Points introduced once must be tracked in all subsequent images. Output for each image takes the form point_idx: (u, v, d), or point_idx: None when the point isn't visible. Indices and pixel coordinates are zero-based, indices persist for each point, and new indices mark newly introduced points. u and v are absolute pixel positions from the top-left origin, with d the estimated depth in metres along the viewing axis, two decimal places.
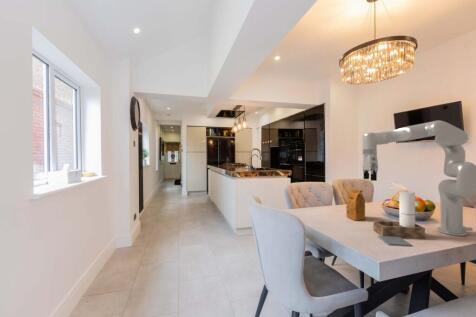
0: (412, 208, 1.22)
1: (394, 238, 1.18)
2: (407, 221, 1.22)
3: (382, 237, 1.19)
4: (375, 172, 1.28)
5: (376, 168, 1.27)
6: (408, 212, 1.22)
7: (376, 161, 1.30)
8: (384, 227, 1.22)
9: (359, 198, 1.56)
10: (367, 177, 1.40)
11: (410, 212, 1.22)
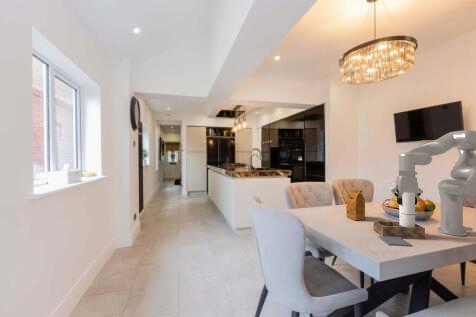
0: (412, 208, 1.22)
1: (394, 238, 1.18)
2: (407, 221, 1.22)
3: (382, 237, 1.19)
4: None
5: None
6: (408, 212, 1.22)
7: None
8: (384, 227, 1.22)
9: (359, 198, 1.55)
10: None
11: (410, 212, 1.22)
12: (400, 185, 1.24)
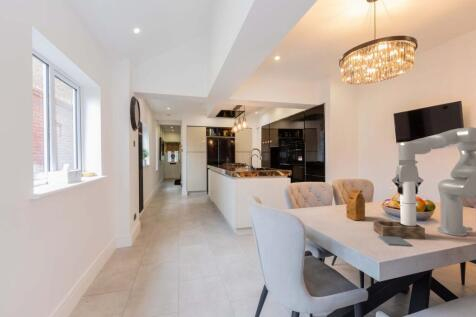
0: (413, 197, 1.22)
1: (394, 238, 1.18)
2: (408, 210, 1.23)
3: (382, 237, 1.19)
4: None
5: (422, 181, 1.24)
6: (409, 201, 1.22)
7: None
8: (384, 227, 1.22)
9: (359, 198, 1.55)
10: None
11: (411, 201, 1.22)
12: (400, 174, 1.24)
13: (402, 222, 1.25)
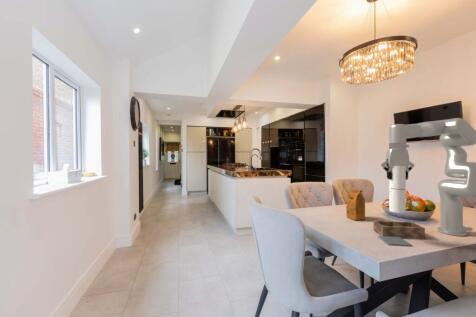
0: (402, 182, 1.15)
1: (394, 238, 1.18)
2: (397, 196, 1.15)
3: (382, 237, 1.19)
4: None
5: (413, 166, 1.17)
6: (398, 186, 1.15)
7: None
8: (384, 227, 1.22)
9: (359, 198, 1.56)
10: None
11: (400, 186, 1.15)
12: (390, 158, 1.17)
13: (390, 209, 1.18)
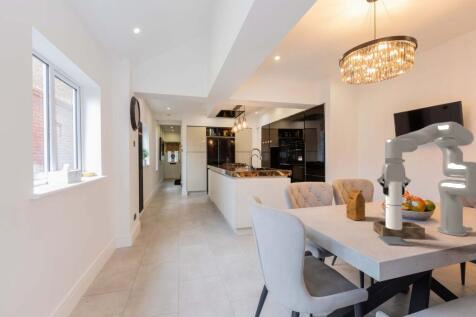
0: (399, 198, 1.12)
1: (394, 238, 1.18)
2: (393, 213, 1.13)
3: (382, 237, 1.19)
4: None
5: (409, 181, 1.14)
6: (394, 203, 1.12)
7: None
8: (384, 227, 1.22)
9: (359, 198, 1.55)
10: None
11: (397, 203, 1.12)
12: (386, 174, 1.14)
13: (387, 225, 1.15)
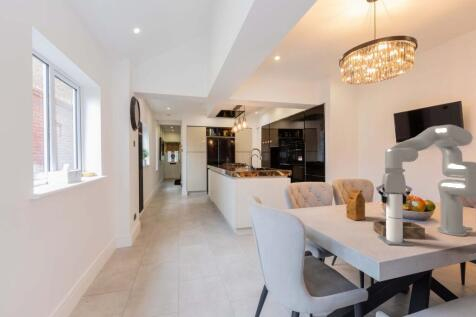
0: (399, 211, 1.12)
1: None
2: (394, 226, 1.13)
3: (382, 237, 1.19)
4: None
5: None
6: (395, 216, 1.12)
7: None
8: (384, 227, 1.22)
9: (359, 198, 1.56)
10: None
11: (397, 216, 1.12)
12: (386, 183, 1.14)
13: (387, 238, 1.16)
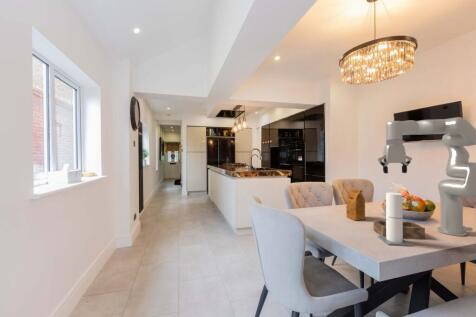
0: (399, 211, 1.12)
1: None
2: (394, 226, 1.13)
3: (382, 237, 1.19)
4: None
5: None
6: (395, 215, 1.13)
7: None
8: (384, 227, 1.22)
9: (359, 198, 1.55)
10: None
11: (397, 215, 1.12)
12: (388, 154, 1.21)
13: (387, 238, 1.16)
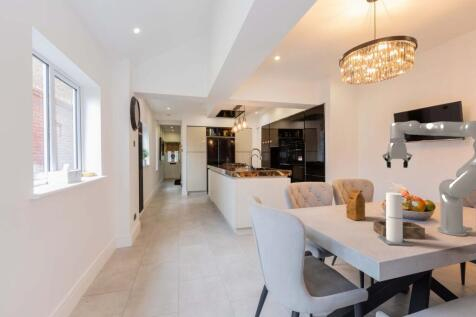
0: (399, 211, 1.12)
1: None
2: (394, 226, 1.13)
3: (382, 237, 1.19)
4: None
5: (411, 156, 1.39)
6: (395, 215, 1.13)
7: None
8: (384, 227, 1.22)
9: (359, 198, 1.56)
10: None
11: (397, 215, 1.12)
12: (391, 151, 1.39)
13: (387, 238, 1.16)
